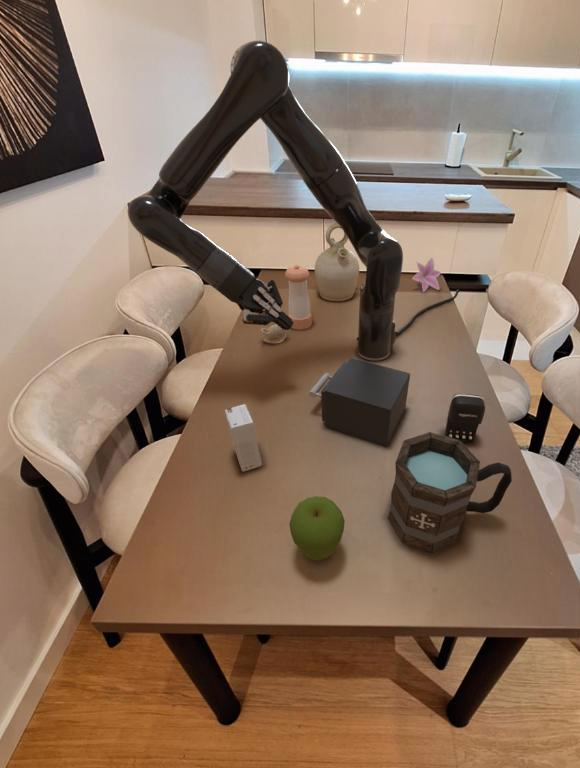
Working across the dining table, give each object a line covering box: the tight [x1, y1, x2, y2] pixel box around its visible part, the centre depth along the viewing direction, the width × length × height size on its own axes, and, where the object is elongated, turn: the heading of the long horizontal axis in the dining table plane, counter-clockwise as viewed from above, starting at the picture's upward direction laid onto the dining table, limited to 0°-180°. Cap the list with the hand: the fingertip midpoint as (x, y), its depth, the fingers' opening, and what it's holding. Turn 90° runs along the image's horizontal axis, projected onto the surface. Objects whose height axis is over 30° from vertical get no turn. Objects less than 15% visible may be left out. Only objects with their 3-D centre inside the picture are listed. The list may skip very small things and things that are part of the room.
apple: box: [288, 495, 345, 561], centre depth 63 cm, size 9×8×12 cm
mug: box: [387, 431, 513, 554], centre depth 68 cm, size 20×14×15 cm
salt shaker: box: [284, 264, 313, 331], centre depth 120 cm, size 7×7×19 cm
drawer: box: [308, 360, 348, 423], centre depth 91 cm, size 18×12×9 cm
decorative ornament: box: [260, 323, 287, 345], centre depth 117 cm, size 4×8×5 cm, turn 129°
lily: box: [411, 257, 442, 293], centre depth 149 cm, size 12×12×10 cm
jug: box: [314, 222, 360, 302], centre depth 136 cm, size 15×16×25 cm
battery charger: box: [443, 393, 486, 443], centre depth 85 cm, size 7×4×11 cm, turn 83°
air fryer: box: [325, 357, 411, 447], centre depth 90 cm, size 15×14×11 cm
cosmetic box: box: [224, 403, 263, 472], centre depth 78 cm, size 6×4×12 cm
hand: (290, 326), depth 90 cm, fingers closed
